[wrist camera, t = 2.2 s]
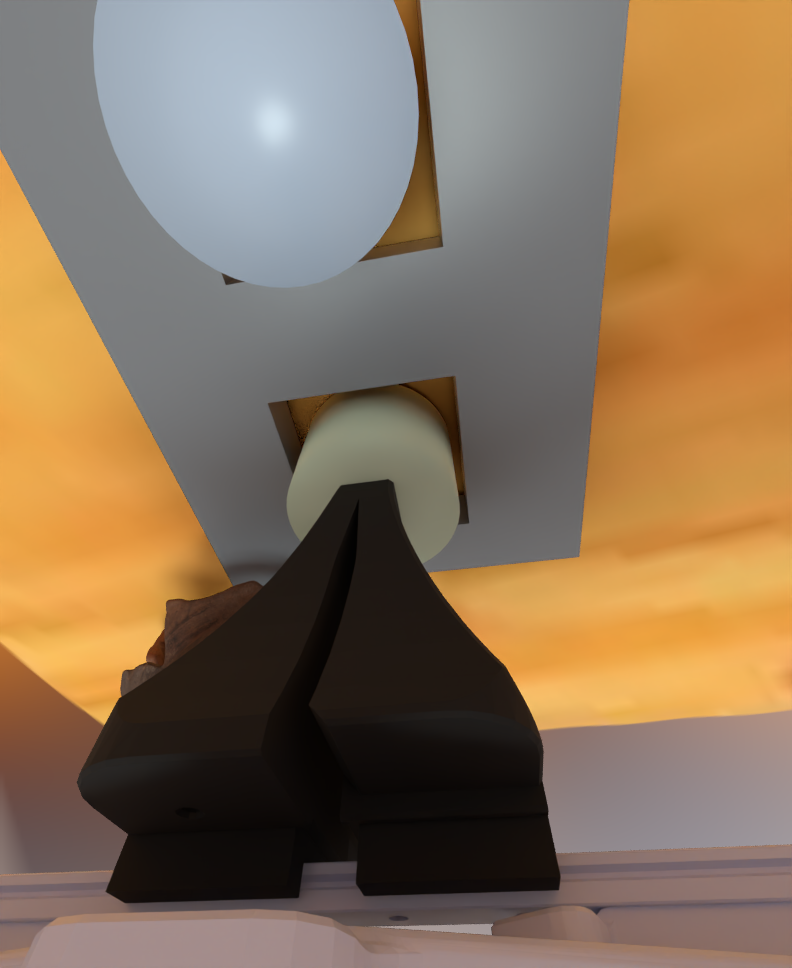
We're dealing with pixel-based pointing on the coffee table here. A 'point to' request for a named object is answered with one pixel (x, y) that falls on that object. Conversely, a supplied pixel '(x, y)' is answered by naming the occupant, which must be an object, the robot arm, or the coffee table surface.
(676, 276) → the coffee table surface
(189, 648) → the brown curved piece
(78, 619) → the coffee table surface
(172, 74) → the slate button
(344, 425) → the sage button
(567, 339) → the grey slotted board
